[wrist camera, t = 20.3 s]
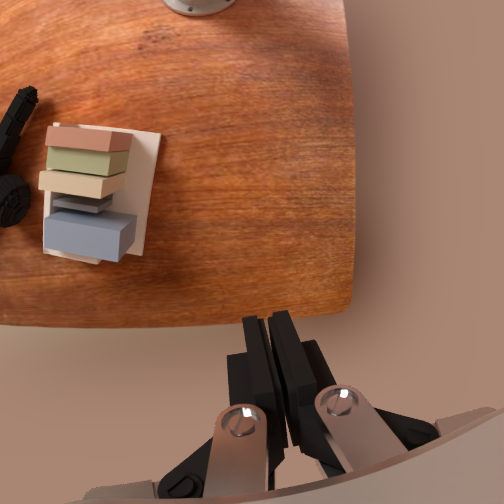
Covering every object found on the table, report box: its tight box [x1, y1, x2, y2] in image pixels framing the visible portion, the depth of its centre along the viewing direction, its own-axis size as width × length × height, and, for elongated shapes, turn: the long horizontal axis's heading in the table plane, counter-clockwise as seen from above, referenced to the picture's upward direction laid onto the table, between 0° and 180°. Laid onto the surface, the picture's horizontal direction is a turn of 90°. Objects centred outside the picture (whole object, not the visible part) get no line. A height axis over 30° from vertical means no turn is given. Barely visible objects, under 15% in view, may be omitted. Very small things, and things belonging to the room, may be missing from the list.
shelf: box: [38, 122, 162, 264], centre depth 37 cm, size 18×14×10 cm
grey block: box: [44, 208, 137, 262], centre depth 38 cm, size 4×11×8 cm, turn 78°
